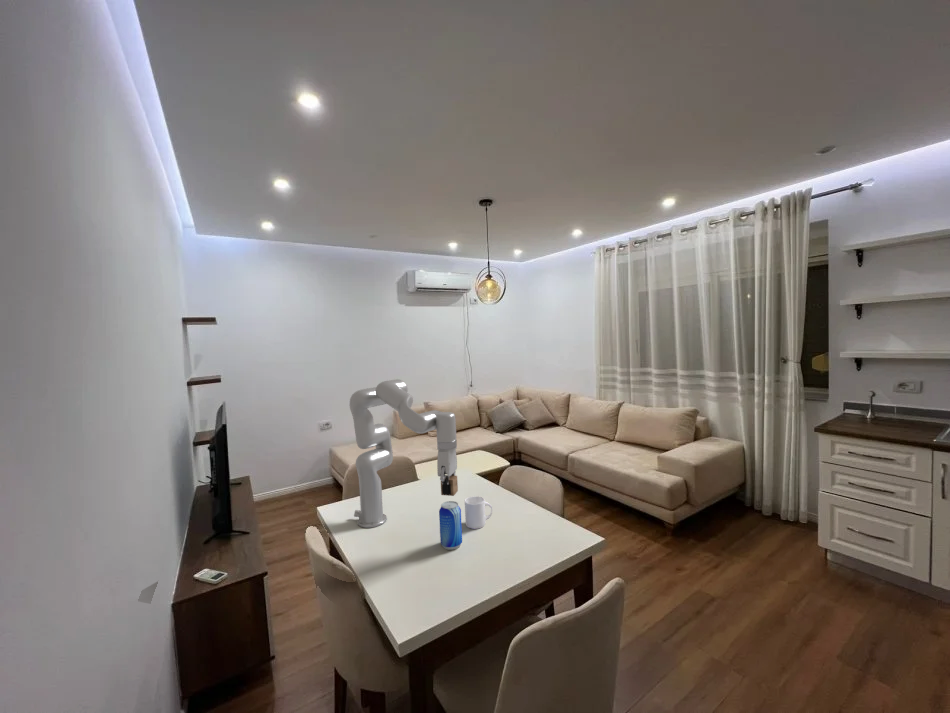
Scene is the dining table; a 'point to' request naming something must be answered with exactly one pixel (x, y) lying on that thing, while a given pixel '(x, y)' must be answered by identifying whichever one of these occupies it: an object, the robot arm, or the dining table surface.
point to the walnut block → (452, 485)
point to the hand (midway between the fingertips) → (449, 490)
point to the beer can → (450, 525)
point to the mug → (476, 512)
